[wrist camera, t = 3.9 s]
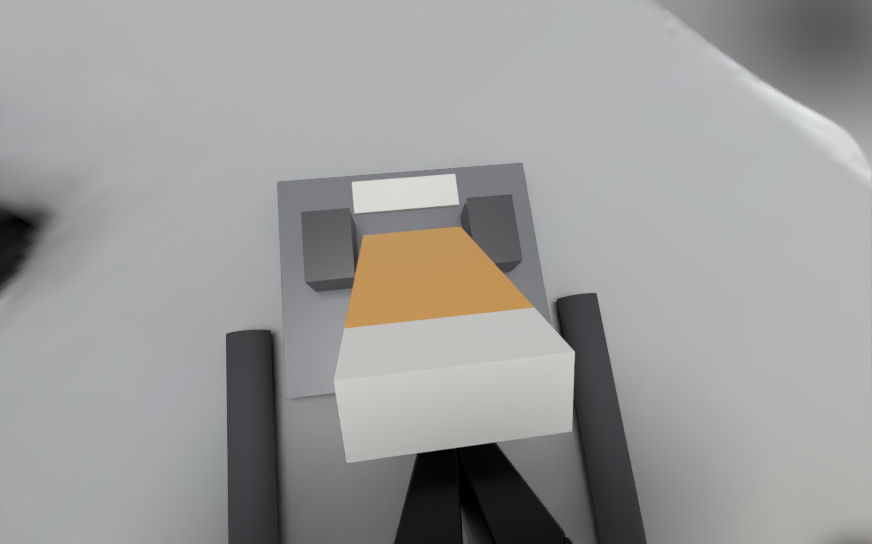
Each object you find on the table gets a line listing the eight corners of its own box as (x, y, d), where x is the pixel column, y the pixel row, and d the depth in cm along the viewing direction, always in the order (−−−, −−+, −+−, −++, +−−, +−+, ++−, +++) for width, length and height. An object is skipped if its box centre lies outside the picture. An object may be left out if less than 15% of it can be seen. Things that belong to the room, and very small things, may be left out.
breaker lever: (460, 253, 20) (582, 429, 8) (364, 262, 19) (334, 464, 7) (458, 218, 19) (586, 350, 7) (360, 227, 19) (320, 383, 7)
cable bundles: (640, 569, 19) (664, 590, 17) (241, 638, 17) (221, 670, 15) (586, 298, 21) (603, 291, 19) (235, 336, 19) (218, 333, 18)
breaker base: (550, 365, 20) (577, 364, 17) (292, 397, 19) (270, 403, 16) (517, 171, 22) (535, 139, 19) (283, 190, 21) (262, 159, 18)
